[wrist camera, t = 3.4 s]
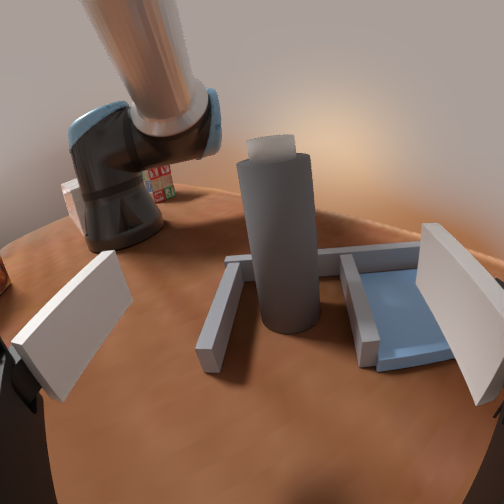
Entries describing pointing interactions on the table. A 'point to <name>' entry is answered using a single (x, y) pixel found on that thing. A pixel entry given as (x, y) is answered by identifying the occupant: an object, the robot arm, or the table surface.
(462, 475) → the table surface
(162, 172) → the stack of blocks
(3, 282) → the candy box
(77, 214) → the long white block
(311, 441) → the table surface
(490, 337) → the robot arm
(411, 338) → the grey frame
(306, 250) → the grey bottle
